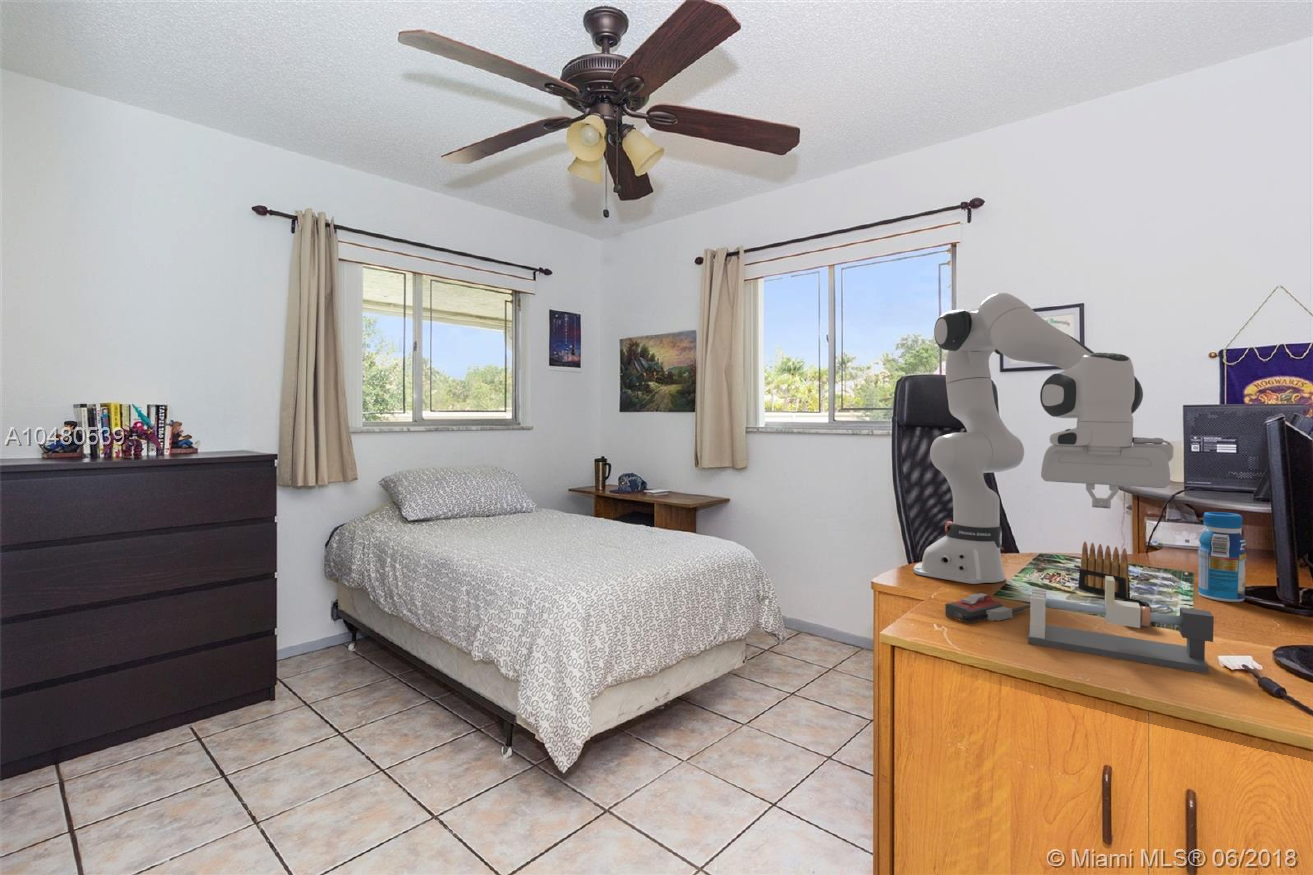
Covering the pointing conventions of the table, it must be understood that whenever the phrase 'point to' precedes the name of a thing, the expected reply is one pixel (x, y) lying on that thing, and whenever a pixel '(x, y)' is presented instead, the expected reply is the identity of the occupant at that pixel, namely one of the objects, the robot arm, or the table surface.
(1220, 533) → the blue supplement bottle
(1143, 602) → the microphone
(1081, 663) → the table surface
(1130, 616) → the grey l-shaped bracket
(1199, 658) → the cord rig
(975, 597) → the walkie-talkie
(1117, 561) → the ammunition clip
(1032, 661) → the table surface
